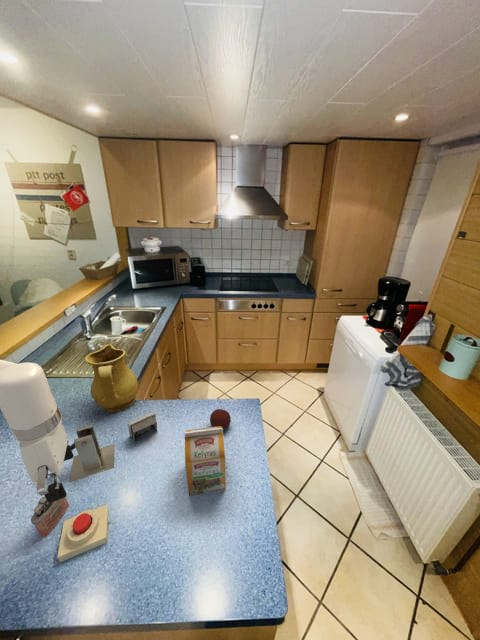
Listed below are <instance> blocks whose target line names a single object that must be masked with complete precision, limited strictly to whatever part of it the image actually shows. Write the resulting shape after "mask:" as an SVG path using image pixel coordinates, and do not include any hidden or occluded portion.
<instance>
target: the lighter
mask: <svg viewBox="0 0 480 640" xmlns="http://www.w3.org/2000/svg"><path fill="white" fill-rule="evenodd" d="M69 507H70V504H69V502H68V499H67V496H66V497H65V498H62V499H59V500H57V501H54V502H51V503H49V502H48V501H47V499H46V497H45V496H43V497H42V496H41V498H39V500H38V503H37V505H36V506H35V507H34V509H33V510H32V511H33V515H32V516H31V518H30V522H31V524H32V525H34V527H35V529H36V530H37V532H38V534H39V535H40V537H42V538H44V537H47V536H48V535H49V534H50V533H51V532H52V531H53V530H54V529H55V528H56V527H57V526H58V524H59V523H60V522H61V520H62V519H63V517H64V516H65V514H66V512H67V511H68V509H69Z"/></svg>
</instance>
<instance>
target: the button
mask: <svg viewBox="0 0 480 640" xmlns="http://www.w3.org/2000/svg"><path fill="white" fill-rule="evenodd" d="M90 525H91V518H90V516H89V514H87V513H83V514H81V515H79V516H78V517H77V518H76V519H75V520H74V522H73V529H74V531H75V533H77V534H82V533H84V532H85V531H86V530H88V528H89V527H90Z"/></svg>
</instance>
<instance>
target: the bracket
mask: <svg viewBox="0 0 480 640" xmlns="http://www.w3.org/2000/svg"><path fill="white" fill-rule="evenodd" d="M86 430H87V431H89V432H91V433H93V434H92V435H89V436H85V437H82V438H78V436H79V435H80V434H82V433H83V432H84V431H86ZM75 432H76V434H77V438H75V439H73V443H74V444H75V447H76V448H75V450H76V452H77V455H74V456H73V458H72V464H71V469H70V473H69V480H68V483H71V482H74V481H78V480H81V479H85V478H87V477H90V476H93V475H97V474H100V473H102V472H105V471H108V470H111V469H114V468H115V454H116V453H115V451H116V450H115V449H116V444H115V443H114V444H110V445H107V446H104V447H103V446H102V447H101V446H100V442H99V438H98V437H97V433H96V430H95V427H94V424H90V425H86V426H83V427H79V428H76V429H75Z"/></svg>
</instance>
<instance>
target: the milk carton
mask: <svg viewBox="0 0 480 640" xmlns="http://www.w3.org/2000/svg"><path fill="white" fill-rule="evenodd" d="M184 463H185V464H184V465H185V473H186V482H187V490H188V491H187V493H188V497H192V496H197V495H203V494H210V493H215V492H222V491H226V490H227V488H226V485H227V484H226V483H227V481H226V480H227V479H226V448H225V436H224V430H223V428H222V426H218V427H212V426H210V427H203V428H195V429H194V428H193V429H187V430H185V432H184Z"/></svg>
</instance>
